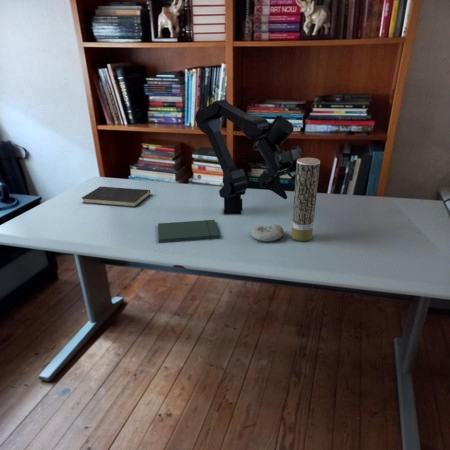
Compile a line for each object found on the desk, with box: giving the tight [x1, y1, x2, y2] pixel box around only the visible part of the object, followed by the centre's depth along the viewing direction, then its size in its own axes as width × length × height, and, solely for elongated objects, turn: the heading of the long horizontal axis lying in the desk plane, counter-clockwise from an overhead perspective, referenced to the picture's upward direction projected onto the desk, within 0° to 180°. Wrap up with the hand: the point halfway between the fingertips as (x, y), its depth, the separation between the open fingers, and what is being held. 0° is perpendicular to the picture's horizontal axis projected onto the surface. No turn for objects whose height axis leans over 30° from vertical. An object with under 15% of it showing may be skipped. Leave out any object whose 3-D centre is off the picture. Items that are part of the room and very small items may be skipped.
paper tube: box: [290, 157, 321, 242], centre depth 131 cm, size 7×7×25 cm
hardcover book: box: [81, 186, 151, 208], centre depth 173 cm, size 16×23×2 cm
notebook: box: [157, 219, 221, 243], centre depth 143 cm, size 20×14×1 cm
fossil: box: [250, 224, 284, 242], centre depth 138 cm, size 11×4×10 cm
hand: (295, 195), depth 134 cm, fingers open, 9 cm apart
